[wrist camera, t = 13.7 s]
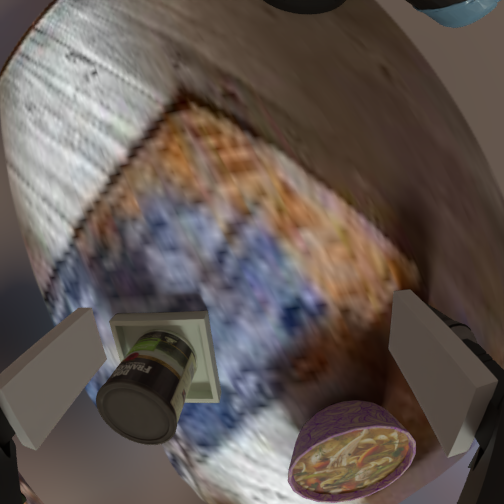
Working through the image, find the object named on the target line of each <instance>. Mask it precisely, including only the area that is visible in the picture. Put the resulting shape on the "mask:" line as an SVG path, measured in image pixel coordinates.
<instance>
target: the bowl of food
mask: <svg viewBox="0 0 504 504" xmlns="http://www.w3.org/2000/svg"><path fill="white" fill-rule="evenodd" d="M415 454H416V442H415V440H414V439H413V437H412V436H411V434H410V433H409V432H408V431H407V430H406V429H405V428H404V427H403V426H402V425H401V424H400V423H399V422H398V421H397V420H396V418H395V417H394V416H392V415H391V414H390V413H389V412H388V411H387V410H386V409H384V408H383V407H381V406H379V405H377V404H375V403H372V402H366V401H359V400H352V401H342V402H339V403H336V404H333V405H330V406H328V407H326V408H324V409H323V410H321V411H319V412H317V413H316V414H315V415H314V416H313V417H312V418H311V419H310V420H309V421H308V422H307V423H306V424H305V425H304V426H303V428H302V430H301V431H300V433H299V435H298V437H297V440H296V443H295V447H294V451H293V455H292V459H291V463H290V467H289V473H288V483H289V484H290V486H291V488H292V490H293V491H294V492H296V493H297V494H299V495H300V496H302V497H303V498H306V499H310V500H313V501H317V502H331V503H336V502H344V501H351V500H355V499H359V498H362V497H365V496H368V495H371V494H373V493H375V492H377V491H379V490H381V489H383V488H385V487H387V486H388V485H390V484H391V483H392V482H394V481H395V480H396V479H398V478H399V477H400V476H401V475H402V474H403V473H404V472H405V471H406V469H407V468H408V467H409V466H410V465H411V462H412V460H413V458H414V456H415Z"/></svg>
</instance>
